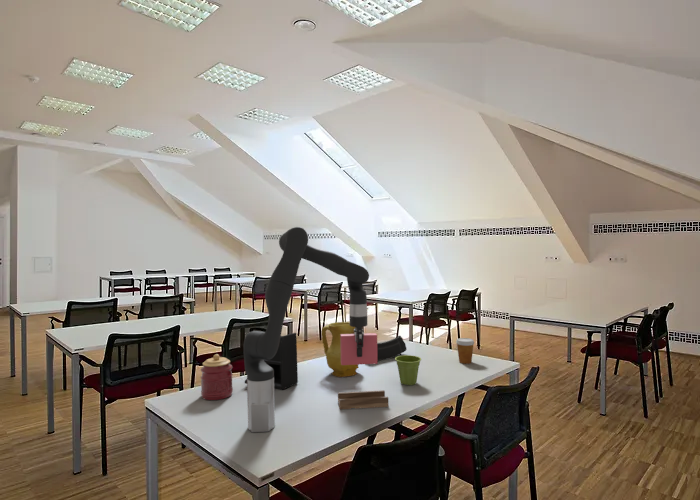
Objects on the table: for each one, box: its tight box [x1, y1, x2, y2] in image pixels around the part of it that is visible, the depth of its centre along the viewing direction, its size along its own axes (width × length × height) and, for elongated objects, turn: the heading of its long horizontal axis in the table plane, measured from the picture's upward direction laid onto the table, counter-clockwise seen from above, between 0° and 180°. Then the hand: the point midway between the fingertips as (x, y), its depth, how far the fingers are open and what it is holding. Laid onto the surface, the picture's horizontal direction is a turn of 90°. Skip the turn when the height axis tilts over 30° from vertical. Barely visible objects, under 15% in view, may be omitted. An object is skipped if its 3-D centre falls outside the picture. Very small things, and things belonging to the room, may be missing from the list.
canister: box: [200, 353, 234, 401], centre depth 188 cm, size 13×13×18 cm
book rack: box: [337, 389, 389, 410], centre depth 175 cm, size 9×19×4 cm, turn 96°
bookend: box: [244, 332, 299, 390], centre depth 204 cm, size 23×11×24 cm, turn 59°
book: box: [340, 332, 378, 366], centre depth 185 cm, size 4×15×12 cm, turn 96°
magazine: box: [377, 335, 407, 362], centre depth 244 cm, size 17×3×30 cm
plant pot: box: [394, 354, 422, 386], centre depth 201 cm, size 12×12×11 cm
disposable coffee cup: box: [455, 337, 475, 365], centre depth 234 cm, size 10×10×12 cm
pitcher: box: [321, 321, 359, 378], centre depth 219 cm, size 17×19×25 cm
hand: (358, 355), depth 185 cm, fingers closed on book, 4 cm apart
